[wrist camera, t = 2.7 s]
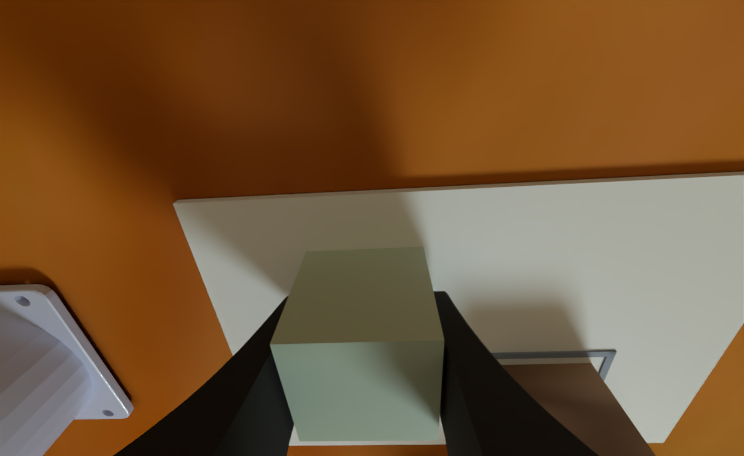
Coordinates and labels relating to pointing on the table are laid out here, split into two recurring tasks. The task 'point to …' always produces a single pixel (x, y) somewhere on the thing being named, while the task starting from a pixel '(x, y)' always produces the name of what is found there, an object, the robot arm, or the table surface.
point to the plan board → (518, 271)
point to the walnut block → (582, 406)
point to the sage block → (362, 347)
